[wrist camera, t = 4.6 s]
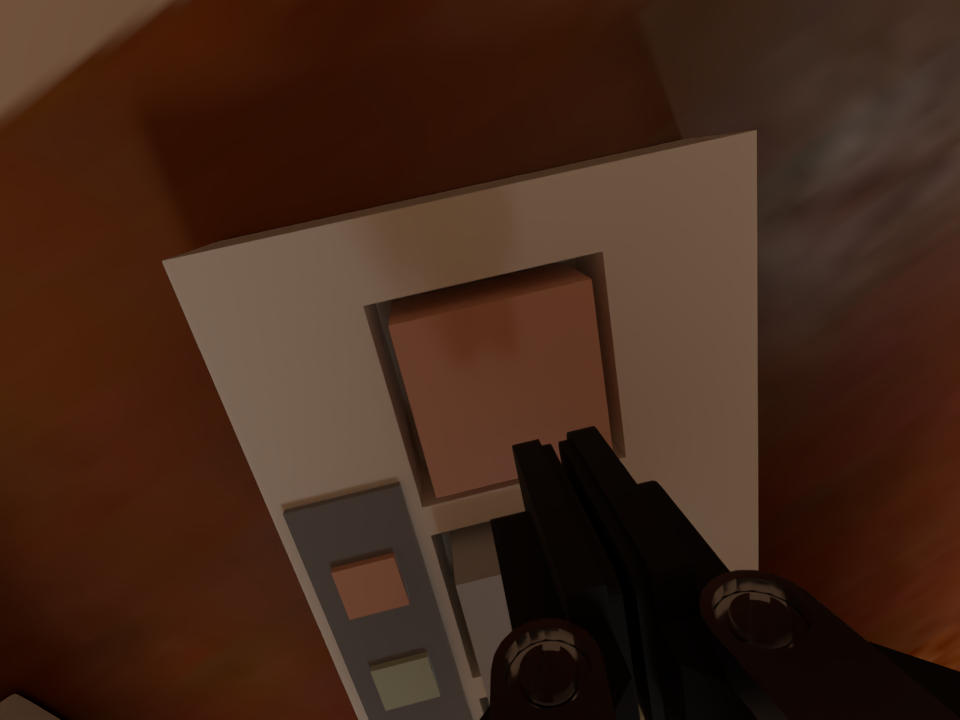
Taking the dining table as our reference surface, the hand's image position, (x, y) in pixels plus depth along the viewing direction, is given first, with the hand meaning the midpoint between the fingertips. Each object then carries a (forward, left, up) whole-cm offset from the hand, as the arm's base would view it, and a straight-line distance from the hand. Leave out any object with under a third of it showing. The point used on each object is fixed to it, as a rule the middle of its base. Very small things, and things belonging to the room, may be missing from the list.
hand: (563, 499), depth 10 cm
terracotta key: (0, -1, -6) cm, 6 cm away
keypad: (0, +6, -7) cm, 10 cm away
